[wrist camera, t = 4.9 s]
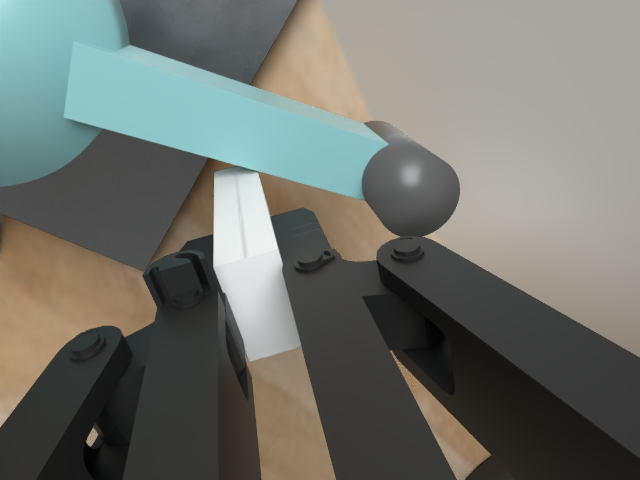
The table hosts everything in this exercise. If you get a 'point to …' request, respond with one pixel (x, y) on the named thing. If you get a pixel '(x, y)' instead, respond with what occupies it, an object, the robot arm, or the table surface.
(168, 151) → the post base
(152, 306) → the table surface
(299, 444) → the table surface
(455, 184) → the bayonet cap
